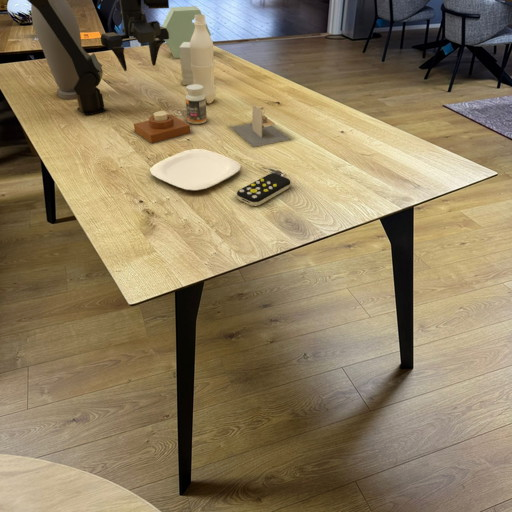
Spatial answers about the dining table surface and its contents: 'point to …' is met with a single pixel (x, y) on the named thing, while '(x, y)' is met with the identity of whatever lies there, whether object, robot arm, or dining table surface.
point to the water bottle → (202, 58)
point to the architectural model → (260, 130)
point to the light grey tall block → (186, 63)
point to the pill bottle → (195, 104)
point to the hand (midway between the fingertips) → (139, 68)
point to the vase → (58, 48)
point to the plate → (195, 169)
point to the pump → (160, 116)
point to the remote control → (263, 189)
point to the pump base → (161, 128)
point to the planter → (180, 27)
